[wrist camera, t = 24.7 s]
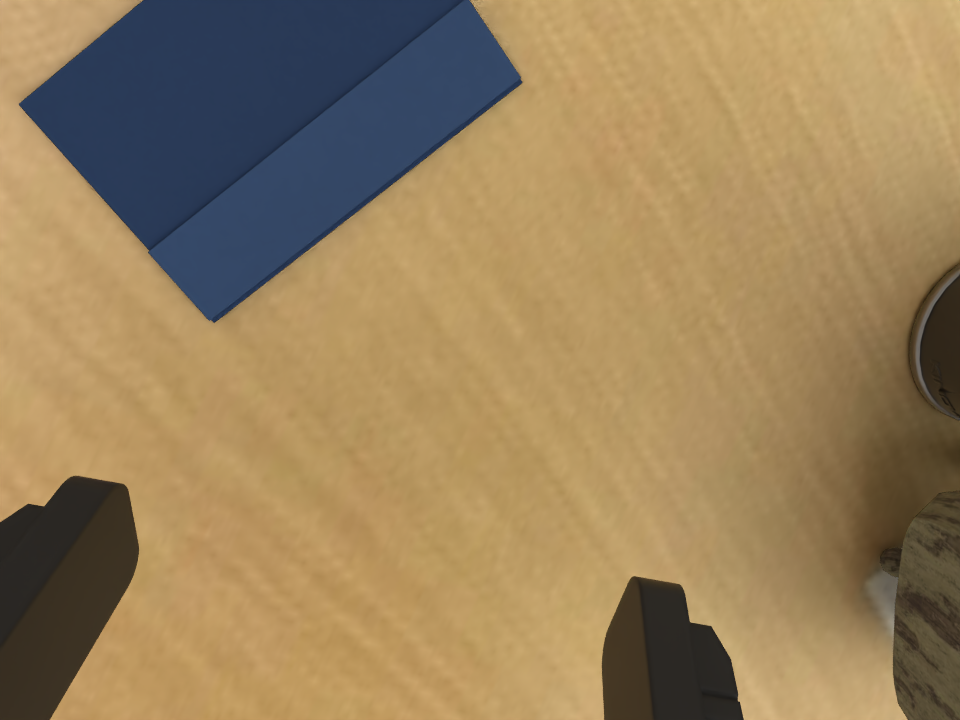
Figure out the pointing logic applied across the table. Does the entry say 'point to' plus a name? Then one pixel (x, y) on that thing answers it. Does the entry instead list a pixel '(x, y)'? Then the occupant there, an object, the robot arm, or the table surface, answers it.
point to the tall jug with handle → (928, 612)
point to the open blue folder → (263, 122)
